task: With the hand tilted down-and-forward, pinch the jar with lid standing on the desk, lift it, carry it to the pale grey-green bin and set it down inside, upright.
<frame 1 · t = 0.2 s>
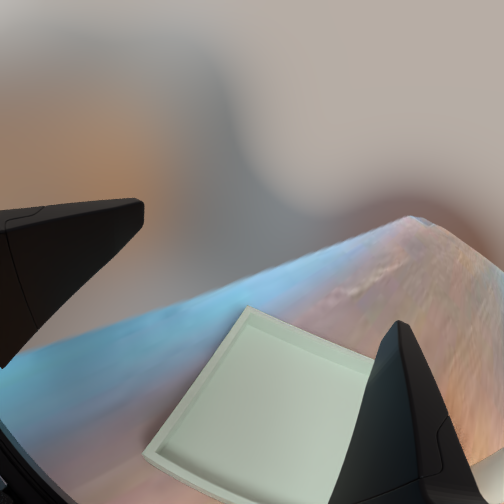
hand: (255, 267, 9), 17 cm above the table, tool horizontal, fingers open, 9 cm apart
bin: (291, 427, 20), on the table
jar with lid: (447, 500, 14), on the table
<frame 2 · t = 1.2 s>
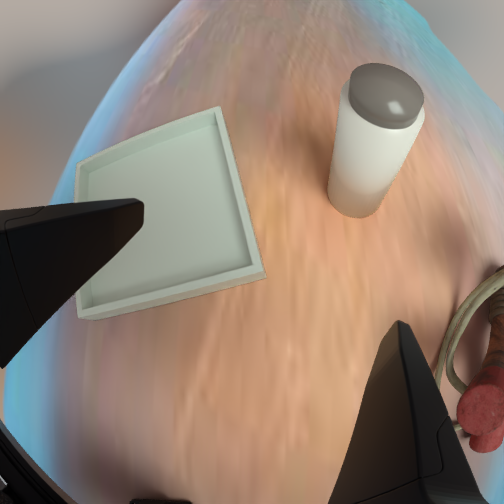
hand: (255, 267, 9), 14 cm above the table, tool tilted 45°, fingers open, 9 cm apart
bin: (157, 214, 26), on the table
slingshot: (461, 355, 19), on the table
jar with lid: (355, 191, 24), on the table
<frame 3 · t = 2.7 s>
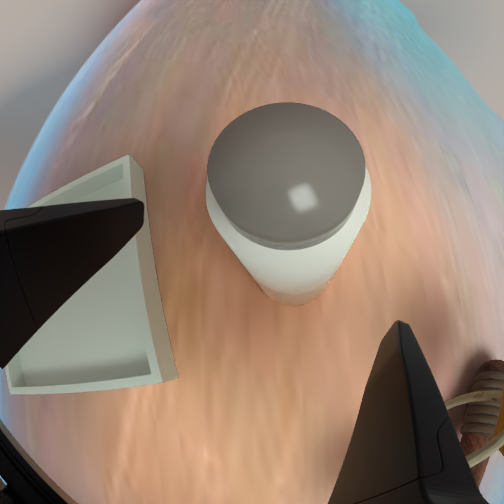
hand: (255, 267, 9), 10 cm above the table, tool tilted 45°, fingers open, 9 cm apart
bin: (71, 289, 21), on the table
slingshot: (420, 463, 14), on the table
jar with lid: (293, 267, 19), on the table
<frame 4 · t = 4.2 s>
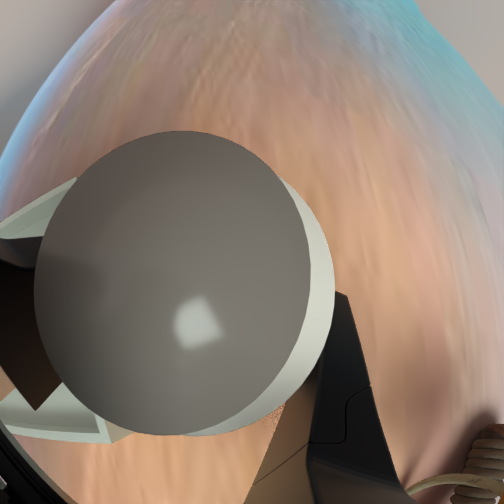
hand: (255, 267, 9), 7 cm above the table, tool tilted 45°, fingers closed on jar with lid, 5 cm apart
bin: (28, 325, 17), on the table
jar with lid: (261, 318, 15), on the table, touching gripper
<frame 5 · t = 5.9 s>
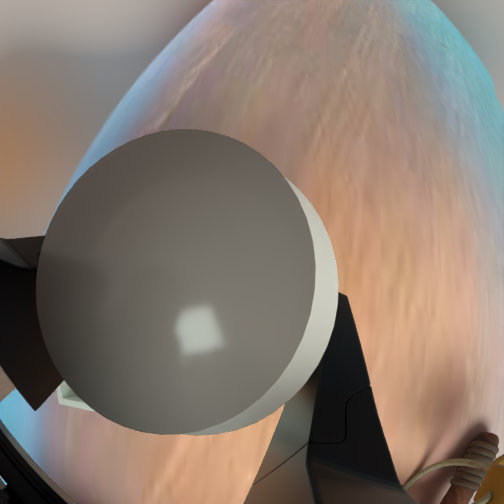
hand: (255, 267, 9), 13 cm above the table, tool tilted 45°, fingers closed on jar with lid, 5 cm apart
bin: (137, 317, 23), on the table
slingshot: (414, 499, 16), on the table
jar with lid: (262, 318, 15), point 7 cm above the table, touching gripper
when the fingers open (9 cm above the table, at t = 7.8 s): jar with lid drops 1 cm, resting on bin.
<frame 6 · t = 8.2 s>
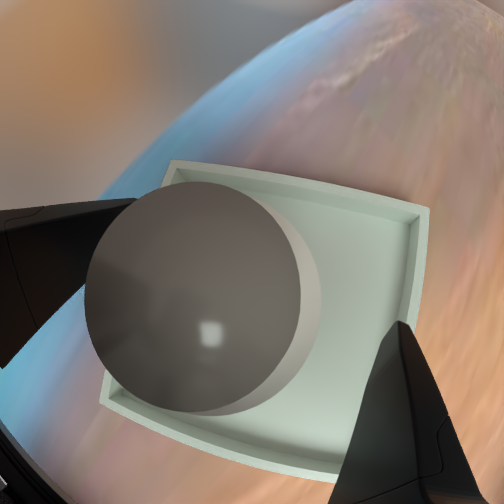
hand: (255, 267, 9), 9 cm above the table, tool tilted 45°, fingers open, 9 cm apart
bin: (265, 320, 17), on the table
jar with lid: (264, 320, 16), point 1 cm above the table, touching bin
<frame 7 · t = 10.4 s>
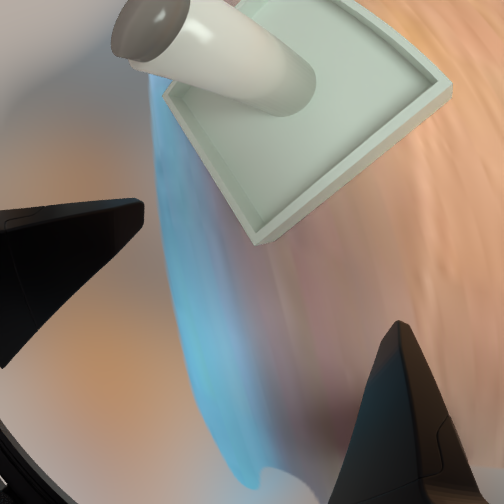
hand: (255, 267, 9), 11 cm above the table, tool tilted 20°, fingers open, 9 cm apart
bin: (289, 88, 19), on the table
jar with lid: (284, 85, 18), point 1 cm above the table, touching bin
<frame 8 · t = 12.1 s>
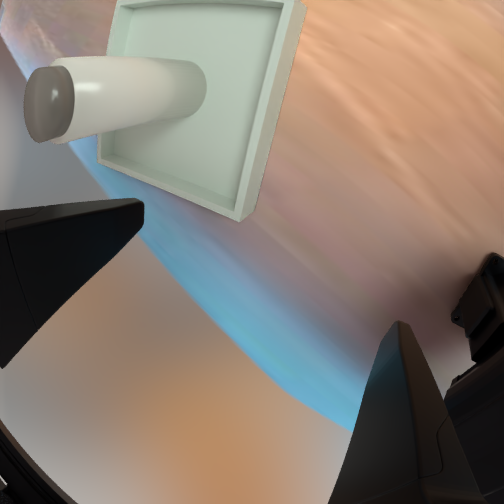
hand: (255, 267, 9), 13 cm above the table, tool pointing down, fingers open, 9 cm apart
bin: (187, 89, 21), on the table
jar with lid: (181, 89, 20), point 1 cm above the table, touching bin
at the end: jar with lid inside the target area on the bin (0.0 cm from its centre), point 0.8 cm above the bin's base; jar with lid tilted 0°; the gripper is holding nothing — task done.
